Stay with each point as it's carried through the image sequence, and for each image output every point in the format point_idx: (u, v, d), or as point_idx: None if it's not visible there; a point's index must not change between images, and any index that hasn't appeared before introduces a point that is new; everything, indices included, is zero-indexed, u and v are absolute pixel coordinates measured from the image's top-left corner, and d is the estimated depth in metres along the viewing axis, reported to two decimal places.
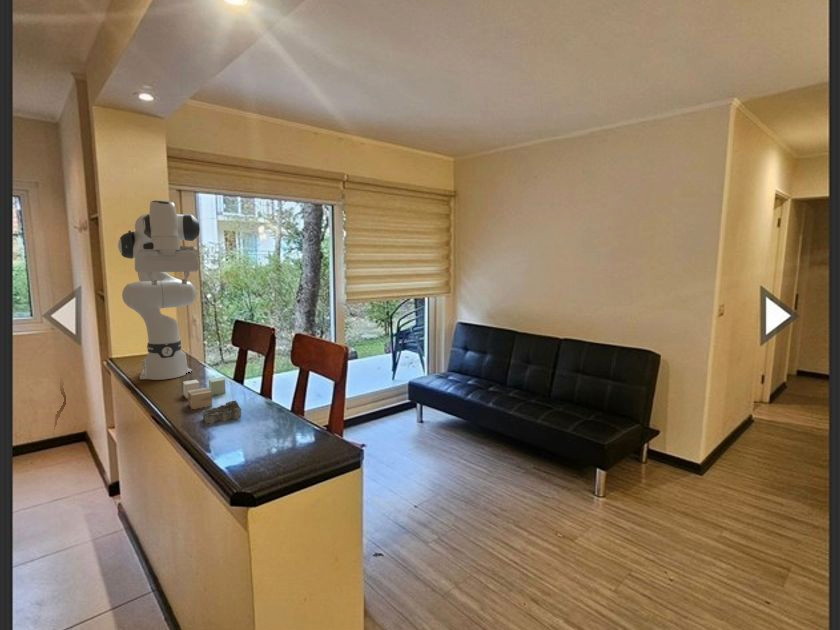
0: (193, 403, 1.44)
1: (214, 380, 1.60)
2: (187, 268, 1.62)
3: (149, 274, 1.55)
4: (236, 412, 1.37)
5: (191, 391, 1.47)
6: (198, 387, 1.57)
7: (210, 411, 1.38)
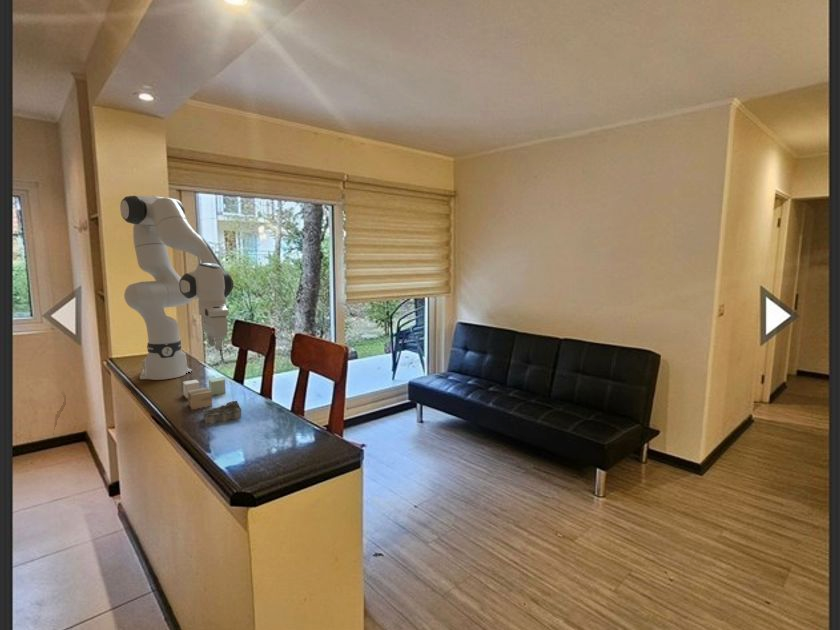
0: (193, 403, 1.44)
1: (214, 380, 1.60)
2: None
3: None
4: (236, 412, 1.36)
5: (191, 391, 1.47)
6: (198, 387, 1.57)
7: (211, 411, 1.38)
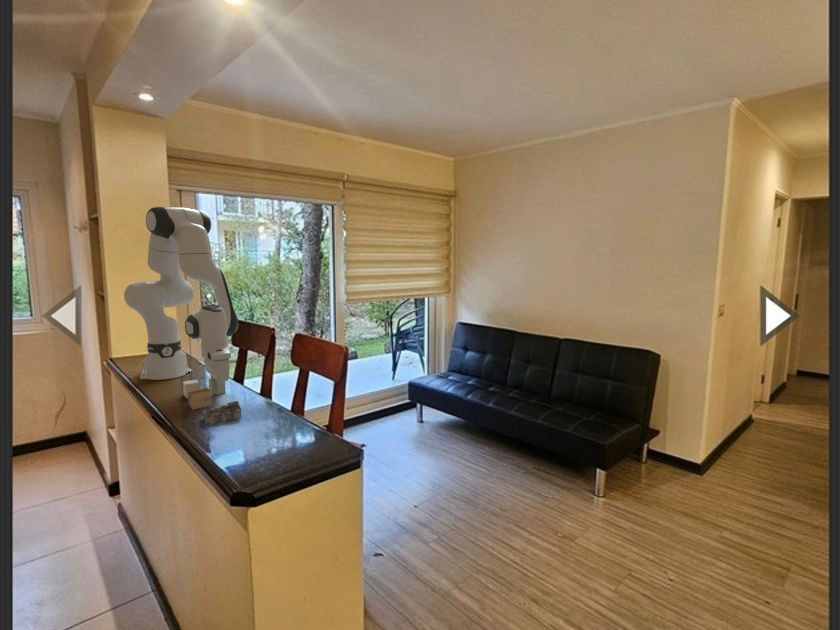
0: (193, 403, 1.44)
1: (214, 380, 1.60)
2: None
3: None
4: (236, 413, 1.36)
5: (191, 391, 1.47)
6: (198, 387, 1.57)
7: (211, 411, 1.38)
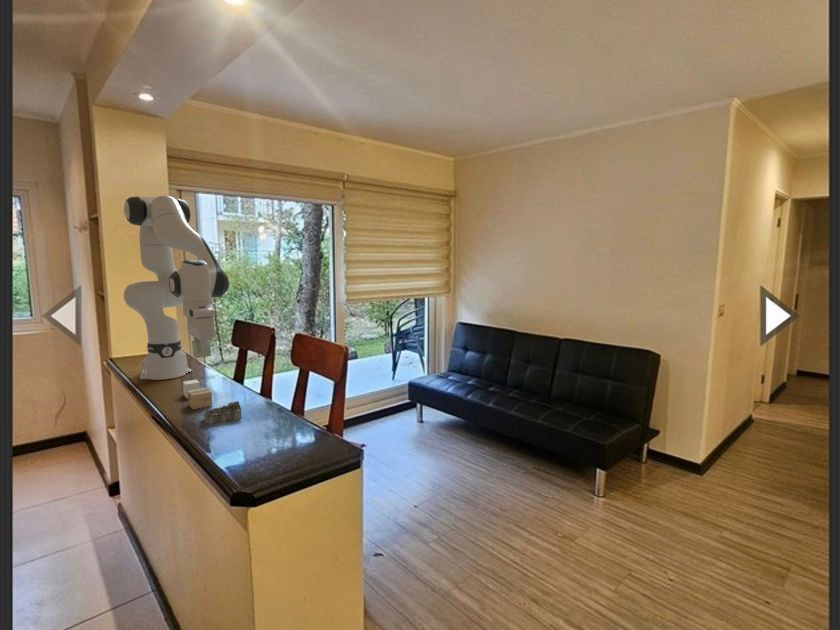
0: (193, 403, 1.44)
1: (198, 341, 1.46)
2: None
3: (207, 341, 1.44)
4: (236, 413, 1.36)
5: (191, 391, 1.47)
6: (198, 387, 1.57)
7: (212, 411, 1.38)
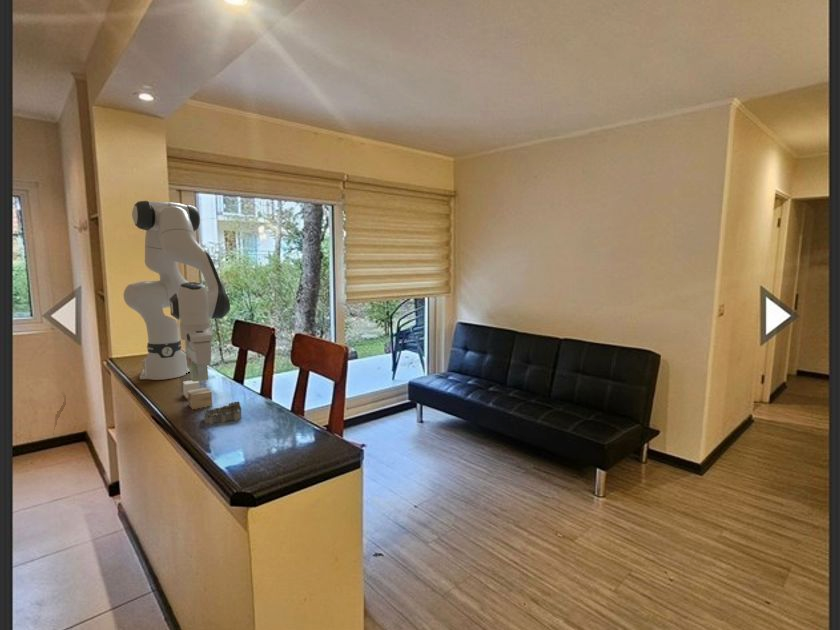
0: (193, 403, 1.44)
1: (195, 365, 1.45)
2: None
3: None
4: (235, 414, 1.35)
5: (191, 391, 1.47)
6: (198, 387, 1.57)
7: (212, 411, 1.38)
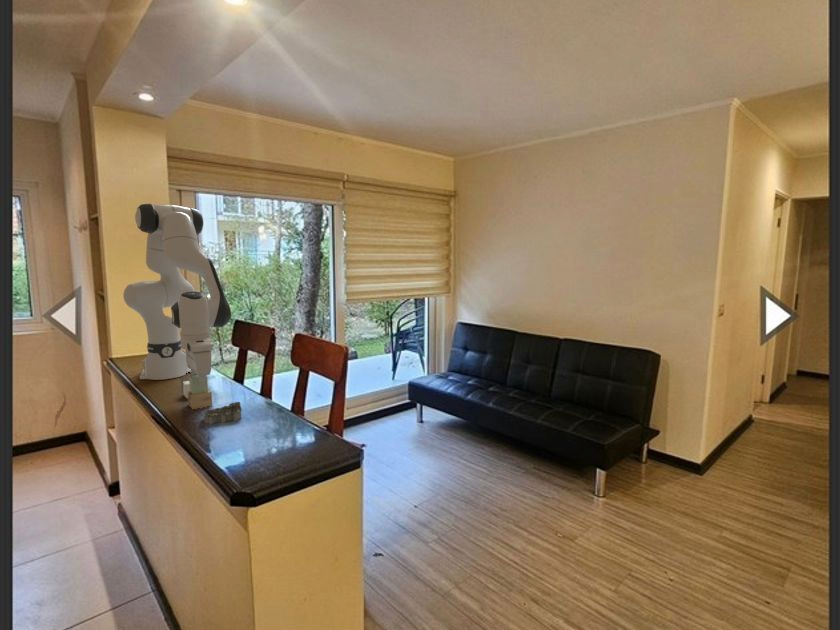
0: (193, 403, 1.44)
1: (195, 377, 1.46)
2: None
3: (205, 375, 1.43)
4: (235, 414, 1.35)
5: None
6: None
7: (213, 411, 1.38)
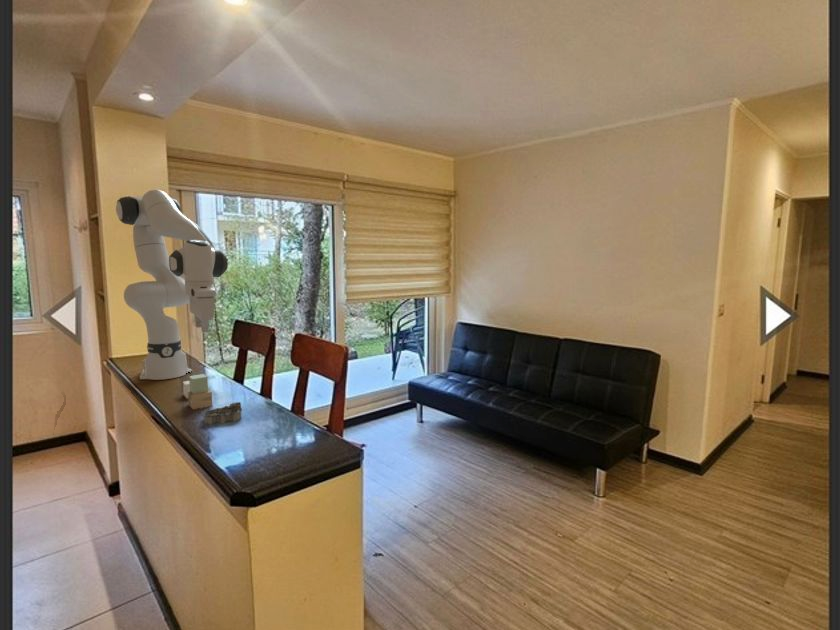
0: (193, 403, 1.44)
1: (195, 377, 1.46)
2: None
3: (208, 321, 1.47)
4: (235, 415, 1.35)
5: None
6: None
7: (213, 411, 1.38)
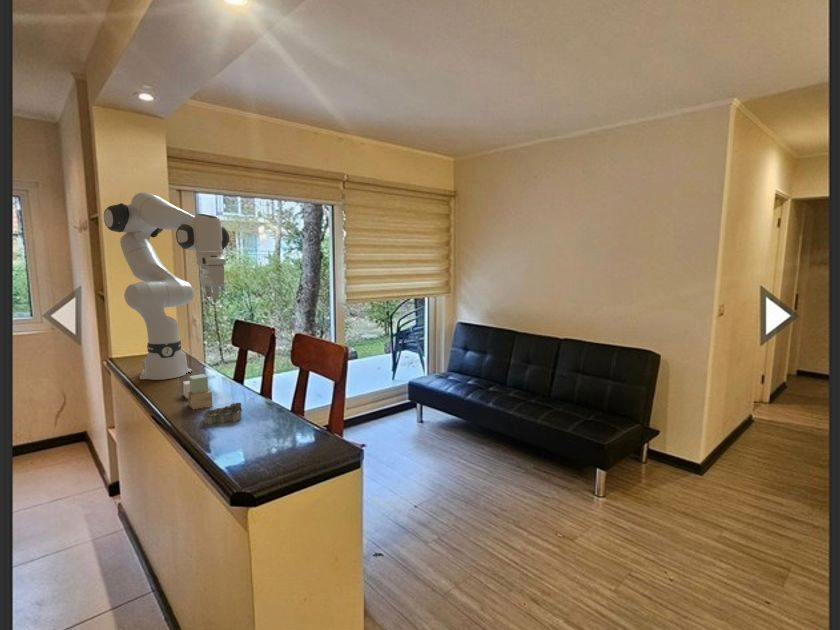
0: (194, 403, 1.44)
1: (195, 377, 1.46)
2: None
3: None
4: (234, 415, 1.34)
5: None
6: None
7: (214, 411, 1.38)
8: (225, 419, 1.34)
